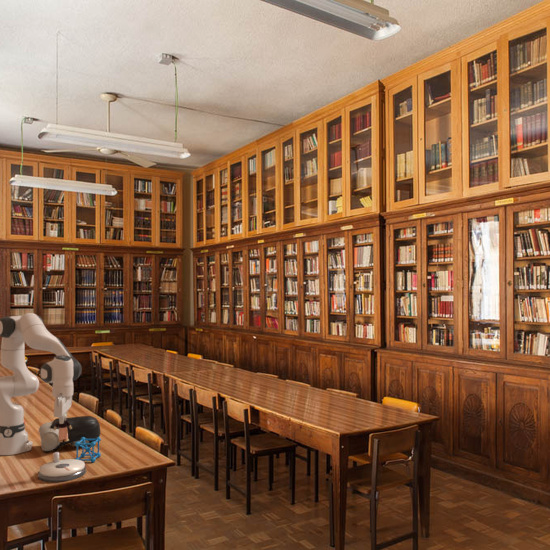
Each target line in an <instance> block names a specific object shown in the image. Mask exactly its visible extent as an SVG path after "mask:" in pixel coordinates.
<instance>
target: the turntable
mask: <svg viewBox="0 0 550 550" xmlns="http://www.w3.org/2000/svg"><path fill="white" fill-rule="evenodd" d="M85 466H86V464H85V461H81V460H77V459H75V458H69V459H68V458H65V459H60V452H59V451H54V452H53V453H52V461H49V462H47V463H44V464H42V465H41V466H40V467H39V471H40V474H41V475H43V476H48V477H60V476H67V475H72V474H75V473H78V472H80V471H82V470H83V469H84V468H85Z"/></svg>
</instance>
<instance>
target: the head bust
mask: <svg viewBox="0 0 550 550" xmlns="http://www.w3.org/2000/svg"><path fill="white" fill-rule="evenodd" d="M66 421H68V422H69V423H70V424H71V427H72V429H70V428H69V426H67V430H68V439H69V441H66V442H65V441H64V440H65V439H63V442H58V441H59V427H57V428H56V430H53V429H54V427H55V425H56V424H57V423H58V422H59V417H56V418H55V419H54V420H53V421H48V422H44V423H43V424H41V425H40V426H39V428H38V434H39V437H40V445H41V446H40V447H41V449H42V451H43V453H47V454H48V453H51V452H56V451H57V450H58V449H60V448H62V447H64V446H66V445H70V446H71V447H76V446H75V443H76V442H79V441H81V438H82V437H85V439H96V438H97V437H100V436H101V425H100V423H99V420H98V419H97V418H96V417H94V416H91V415H83V416H82V415H81V416H73V417H67V418H66ZM95 441H96V440H85V443H91V442H95ZM81 443H82V442H81Z"/></svg>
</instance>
